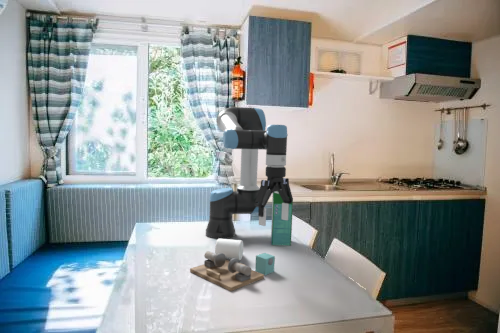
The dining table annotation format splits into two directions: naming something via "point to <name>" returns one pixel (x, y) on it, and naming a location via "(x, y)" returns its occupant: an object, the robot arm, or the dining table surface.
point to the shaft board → (226, 272)
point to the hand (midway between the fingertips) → (273, 222)
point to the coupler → (265, 263)
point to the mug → (229, 248)
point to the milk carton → (280, 222)
